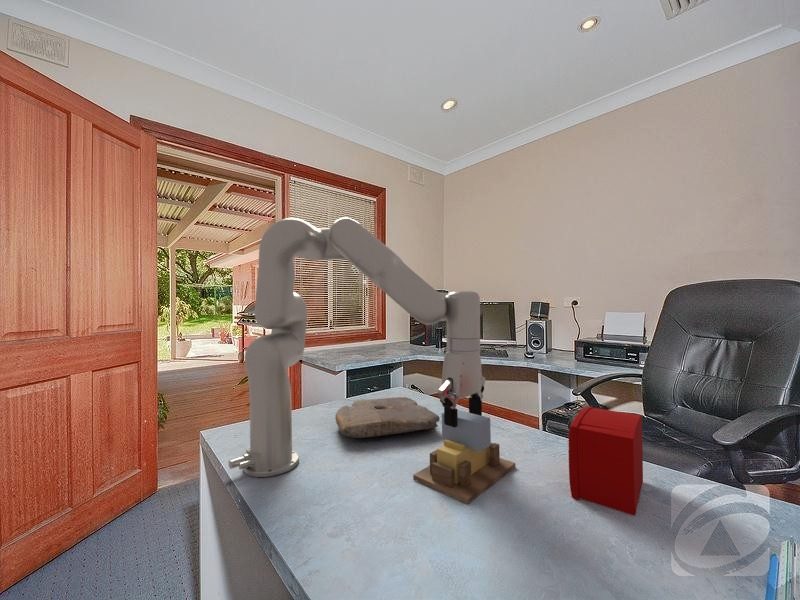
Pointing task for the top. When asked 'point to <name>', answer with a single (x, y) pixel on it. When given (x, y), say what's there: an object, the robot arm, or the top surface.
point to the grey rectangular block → (469, 431)
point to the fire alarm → (606, 458)
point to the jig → (465, 476)
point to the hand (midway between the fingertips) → (463, 420)
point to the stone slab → (384, 417)
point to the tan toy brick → (461, 457)
